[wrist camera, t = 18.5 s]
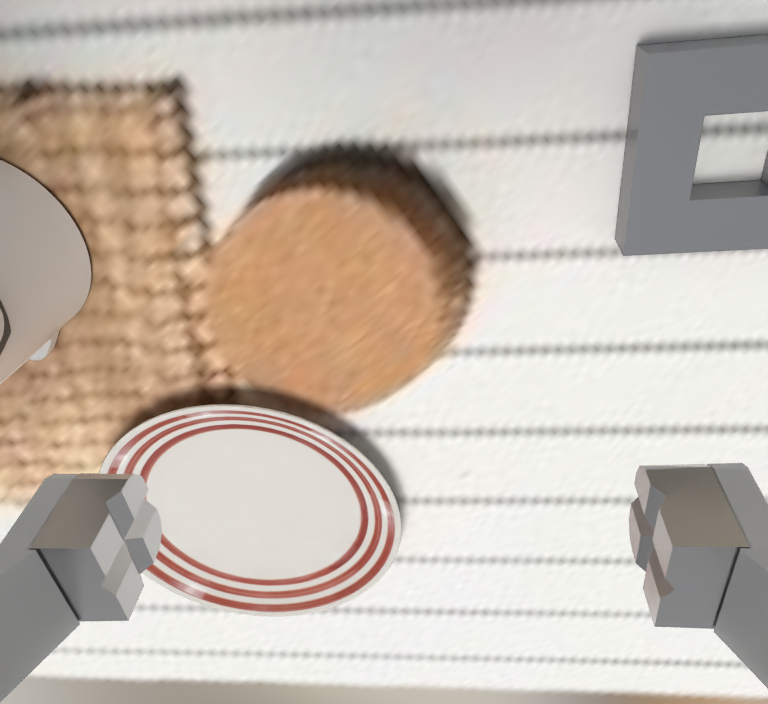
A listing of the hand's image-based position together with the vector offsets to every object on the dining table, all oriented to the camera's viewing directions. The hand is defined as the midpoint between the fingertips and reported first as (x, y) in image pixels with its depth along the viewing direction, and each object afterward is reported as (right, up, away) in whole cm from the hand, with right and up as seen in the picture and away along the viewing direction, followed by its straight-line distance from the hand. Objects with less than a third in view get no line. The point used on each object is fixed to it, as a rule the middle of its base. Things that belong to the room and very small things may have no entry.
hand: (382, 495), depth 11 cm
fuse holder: (+21, +15, +29) cm, 39 cm away
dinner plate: (-12, -11, +51) cm, 54 cm away
